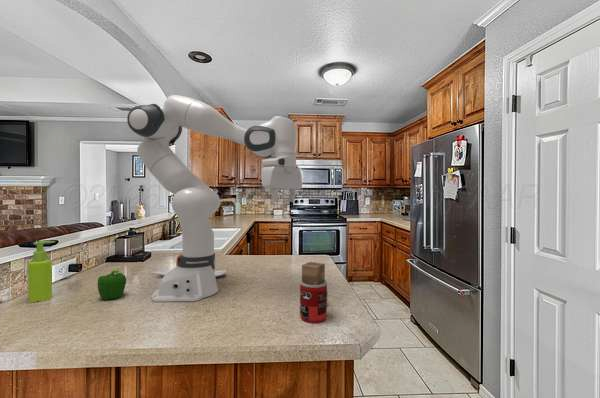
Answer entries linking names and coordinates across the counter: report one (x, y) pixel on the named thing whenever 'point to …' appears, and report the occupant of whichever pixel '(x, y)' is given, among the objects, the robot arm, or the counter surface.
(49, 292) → the soap dispenser
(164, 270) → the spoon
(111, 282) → the bell pepper
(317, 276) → the walnut block
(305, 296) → the canned food
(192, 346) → the counter surface
